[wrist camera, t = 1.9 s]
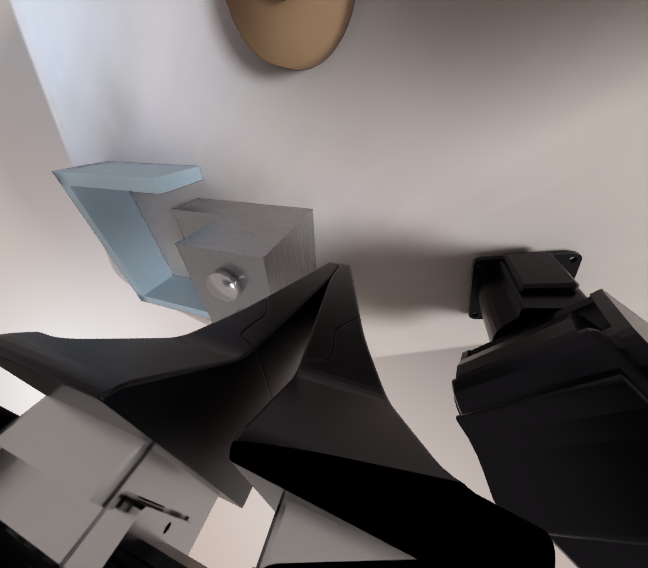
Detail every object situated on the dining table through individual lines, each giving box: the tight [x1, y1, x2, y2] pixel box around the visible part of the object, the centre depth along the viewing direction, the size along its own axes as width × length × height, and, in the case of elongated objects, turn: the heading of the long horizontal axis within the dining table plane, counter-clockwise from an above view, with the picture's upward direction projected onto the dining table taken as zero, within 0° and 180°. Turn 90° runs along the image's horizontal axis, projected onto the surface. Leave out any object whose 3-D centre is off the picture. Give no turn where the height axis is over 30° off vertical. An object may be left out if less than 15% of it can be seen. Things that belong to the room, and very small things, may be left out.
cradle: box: [52, 161, 211, 319], centre depth 27 cm, size 13×16×5 cm
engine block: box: [172, 198, 316, 323], centre depth 22 cm, size 13×10×10 cm
